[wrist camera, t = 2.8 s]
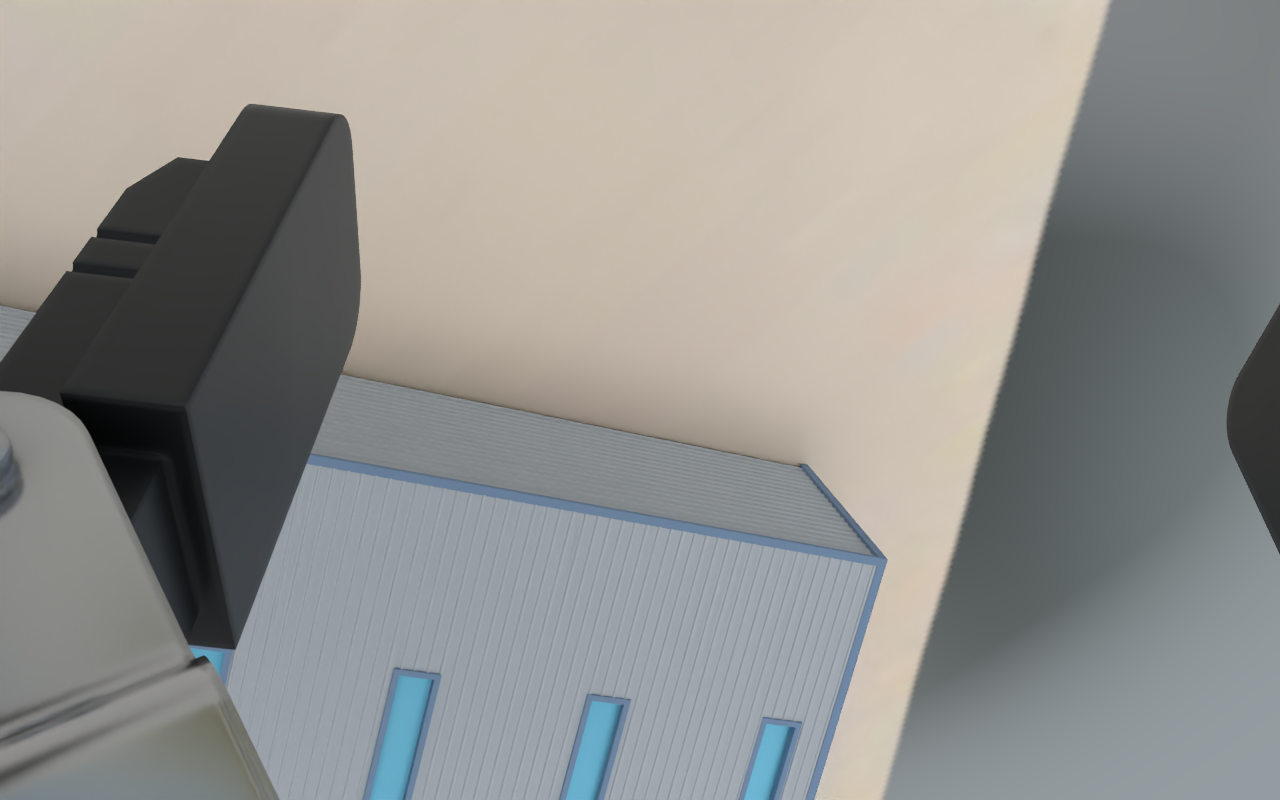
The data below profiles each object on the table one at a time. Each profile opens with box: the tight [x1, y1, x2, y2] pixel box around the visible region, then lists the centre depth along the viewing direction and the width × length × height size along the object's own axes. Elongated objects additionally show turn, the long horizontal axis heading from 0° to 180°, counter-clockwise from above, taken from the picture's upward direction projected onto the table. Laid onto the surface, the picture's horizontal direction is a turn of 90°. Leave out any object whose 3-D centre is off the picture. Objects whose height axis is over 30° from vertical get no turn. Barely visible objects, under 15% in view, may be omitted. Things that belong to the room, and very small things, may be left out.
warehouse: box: [0, 305, 887, 800], centre depth 27 cm, size 30×14×8 cm, turn 74°
